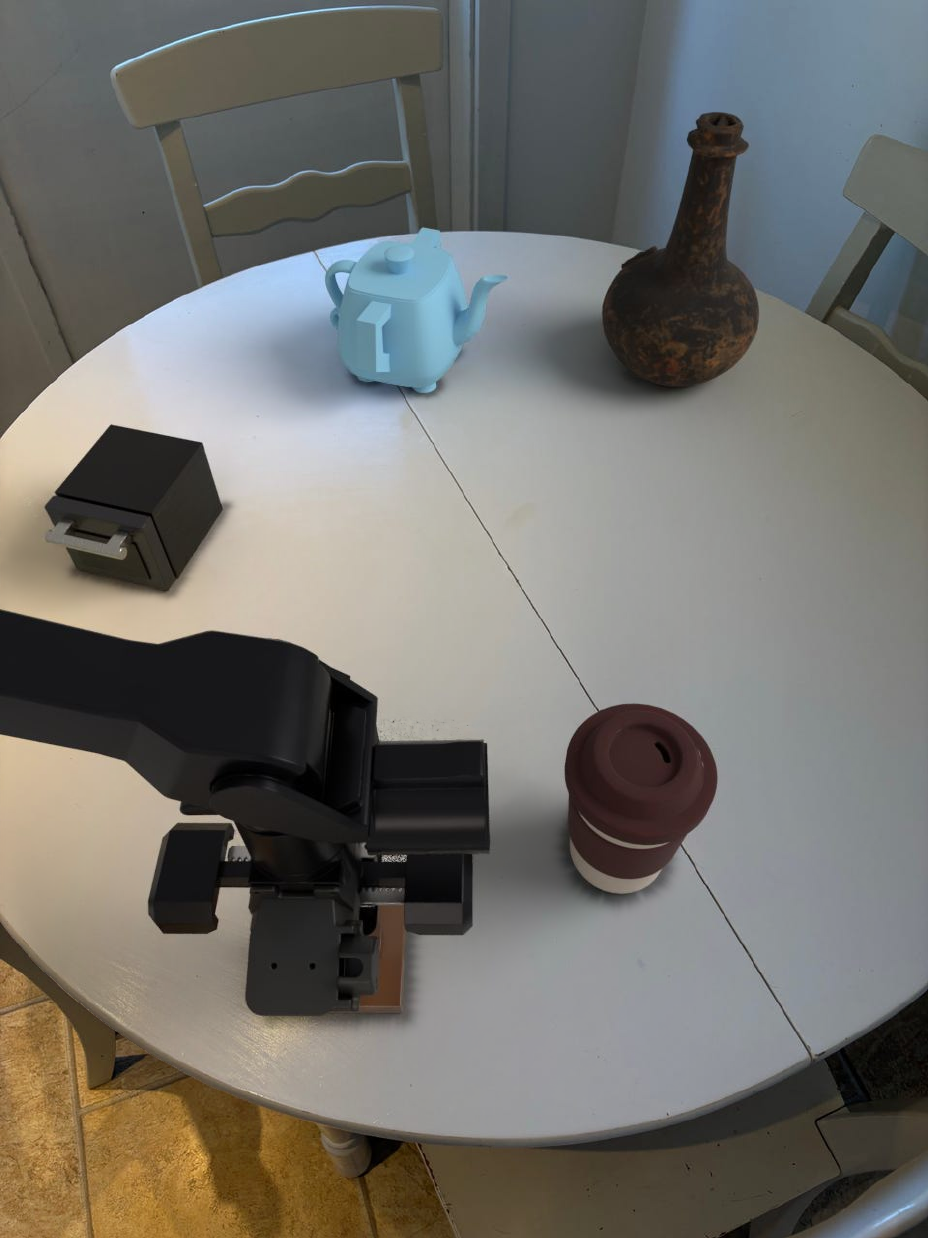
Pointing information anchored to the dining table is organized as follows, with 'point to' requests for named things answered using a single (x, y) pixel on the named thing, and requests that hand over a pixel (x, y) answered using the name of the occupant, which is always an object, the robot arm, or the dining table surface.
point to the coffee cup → (634, 793)
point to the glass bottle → (688, 278)
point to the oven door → (110, 542)
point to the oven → (151, 486)
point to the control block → (388, 963)
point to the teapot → (405, 312)
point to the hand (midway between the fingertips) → (333, 925)
